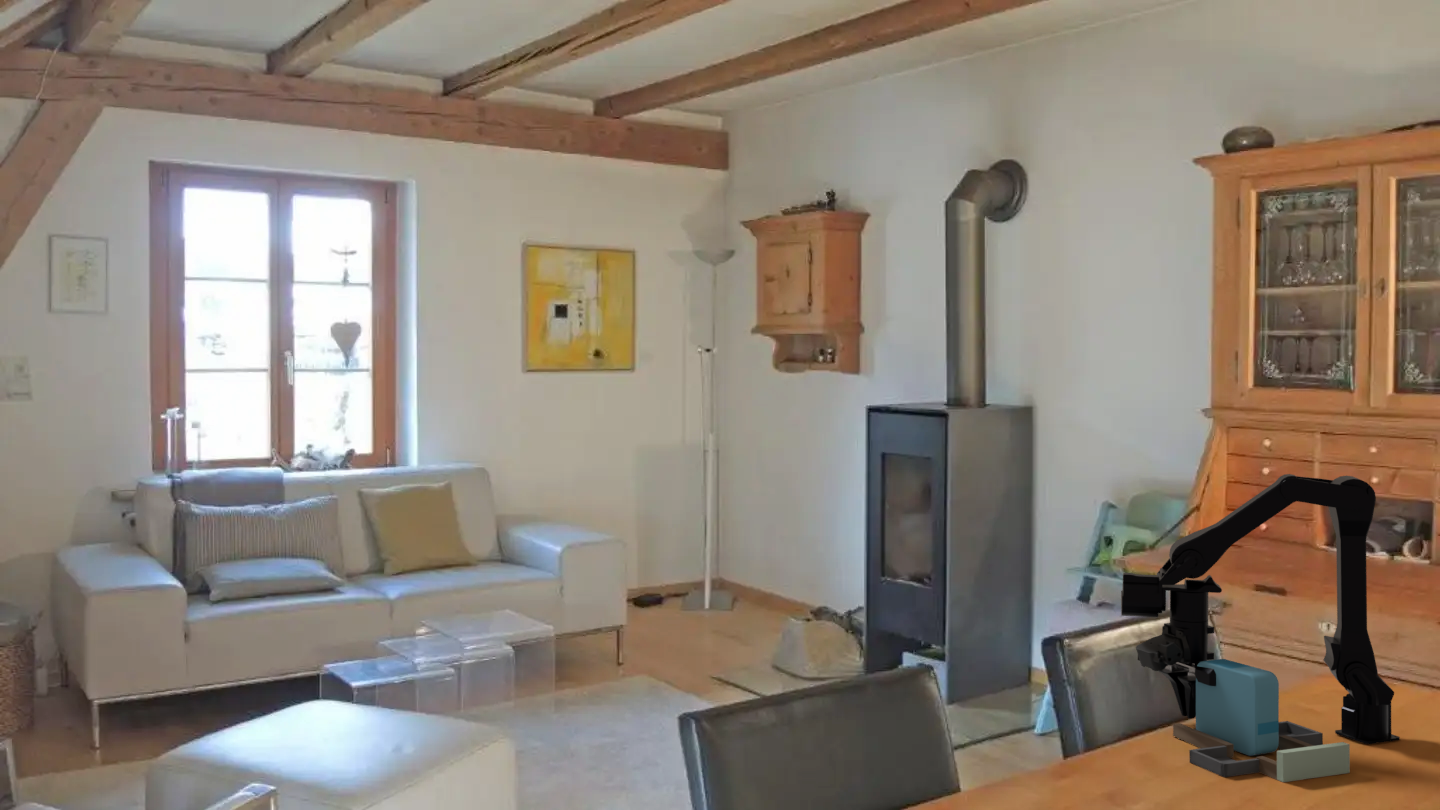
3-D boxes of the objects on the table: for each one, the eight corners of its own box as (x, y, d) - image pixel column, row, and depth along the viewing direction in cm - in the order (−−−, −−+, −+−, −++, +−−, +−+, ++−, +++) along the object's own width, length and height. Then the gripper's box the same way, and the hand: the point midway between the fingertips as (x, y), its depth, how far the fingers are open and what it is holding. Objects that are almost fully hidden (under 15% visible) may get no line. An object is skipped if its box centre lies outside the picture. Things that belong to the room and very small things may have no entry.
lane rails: (1234, 729, 199) (1234, 716, 199) (1343, 770, 178) (1342, 756, 178) (1173, 736, 196) (1173, 723, 196) (1276, 779, 175) (1276, 765, 175)
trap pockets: (1287, 732, 197) (1287, 720, 197) (1359, 758, 184) (1359, 746, 183) (1158, 748, 190) (1158, 736, 190) (1223, 777, 176) (1223, 764, 176)
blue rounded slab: (1279, 755, 186) (1279, 673, 185) (1256, 758, 184) (1256, 676, 184) (1217, 733, 197) (1217, 656, 196) (1194, 737, 195) (1195, 659, 195)
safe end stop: (1343, 770, 178) (1342, 741, 178) (1349, 772, 177) (1349, 744, 177) (1276, 779, 175) (1276, 750, 175) (1283, 782, 174) (1283, 753, 174)
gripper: (1109, 611, 207) (1109, 706, 207) (1184, 634, 189) (1183, 738, 189) (1167, 606, 210) (1167, 700, 210) (1246, 629, 192) (1245, 731, 193)
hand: (1188, 717), depth 201 cm, fingers closed
